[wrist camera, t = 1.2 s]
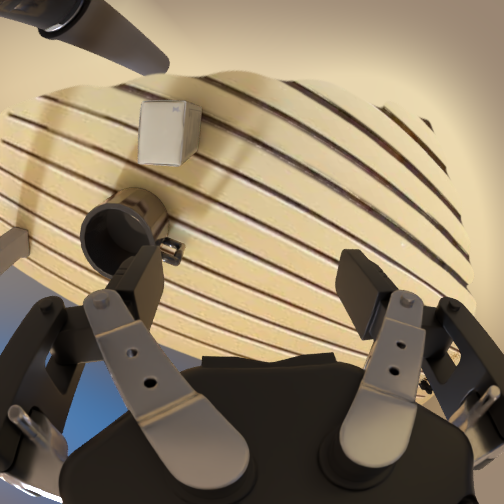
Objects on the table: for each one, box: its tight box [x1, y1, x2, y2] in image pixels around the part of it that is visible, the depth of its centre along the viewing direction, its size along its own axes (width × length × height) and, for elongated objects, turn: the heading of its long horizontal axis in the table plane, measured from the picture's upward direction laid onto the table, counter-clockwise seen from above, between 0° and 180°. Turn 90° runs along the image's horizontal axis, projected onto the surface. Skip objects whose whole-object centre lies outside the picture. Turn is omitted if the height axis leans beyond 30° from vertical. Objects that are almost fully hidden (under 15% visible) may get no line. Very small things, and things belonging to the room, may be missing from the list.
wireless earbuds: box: [419, 381, 433, 394], centre depth 60 cm, size 7×2×5 cm, turn 57°
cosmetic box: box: [138, 100, 202, 167], centre depth 27 cm, size 6×4×12 cm
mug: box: [80, 188, 186, 279], centre depth 35 cm, size 14×10×8 cm
